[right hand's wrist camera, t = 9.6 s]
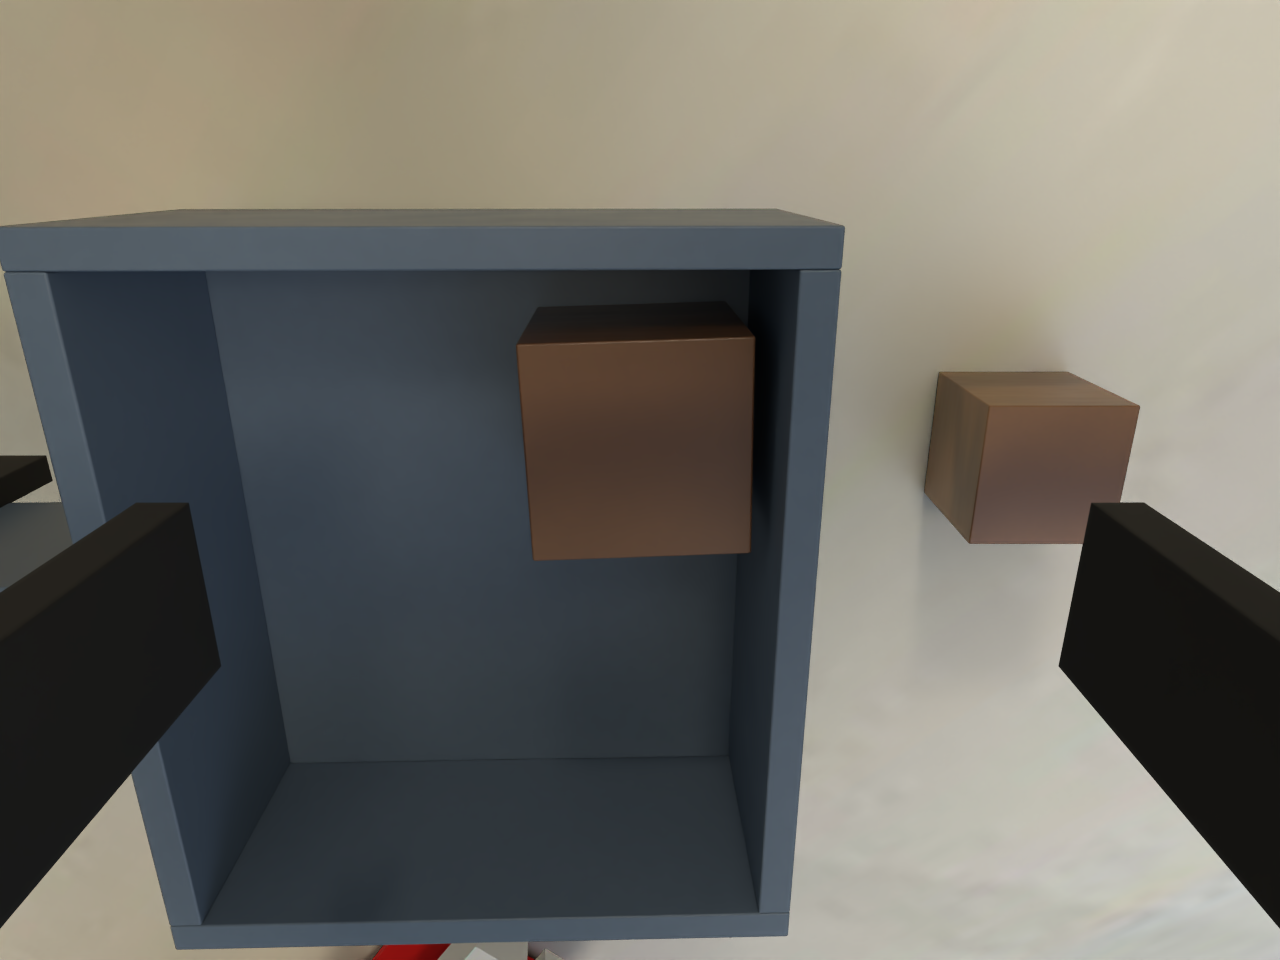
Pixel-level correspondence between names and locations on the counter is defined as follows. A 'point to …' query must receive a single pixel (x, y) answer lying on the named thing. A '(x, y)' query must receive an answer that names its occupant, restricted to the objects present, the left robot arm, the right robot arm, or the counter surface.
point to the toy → (461, 952)
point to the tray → (435, 569)
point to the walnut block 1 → (637, 430)
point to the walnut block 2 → (1026, 454)
